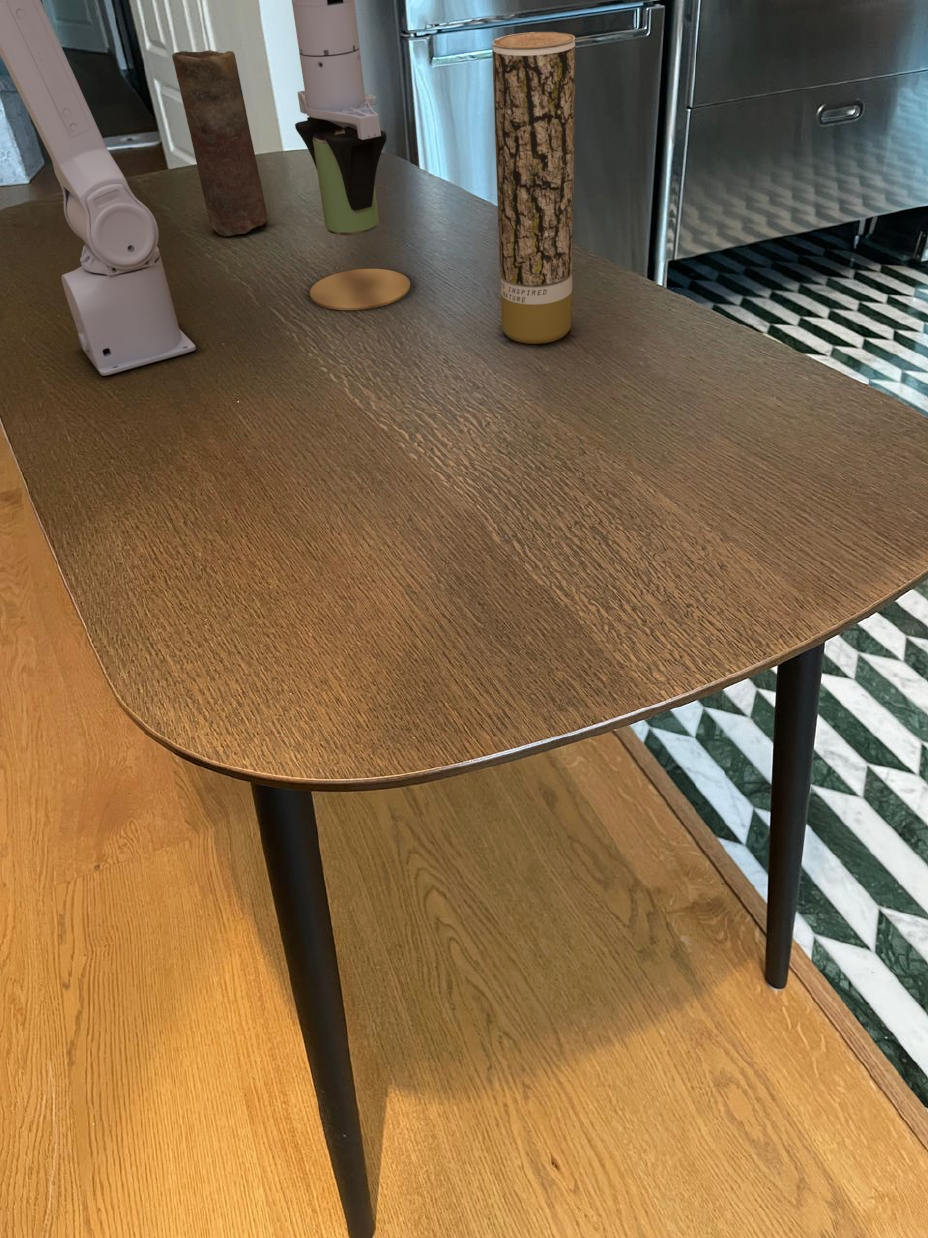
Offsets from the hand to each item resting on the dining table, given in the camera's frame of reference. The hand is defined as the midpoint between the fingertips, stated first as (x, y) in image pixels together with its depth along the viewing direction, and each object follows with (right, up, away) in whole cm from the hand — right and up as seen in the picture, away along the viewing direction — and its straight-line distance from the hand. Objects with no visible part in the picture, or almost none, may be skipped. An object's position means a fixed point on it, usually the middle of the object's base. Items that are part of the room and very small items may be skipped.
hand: (348, 200), depth 100 cm
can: (0, -2, +2) cm, 3 cm away
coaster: (+1, -7, +6) cm, 9 cm away
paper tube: (+19, -15, -5) cm, 25 cm away
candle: (-17, +7, +25) cm, 31 cm away
